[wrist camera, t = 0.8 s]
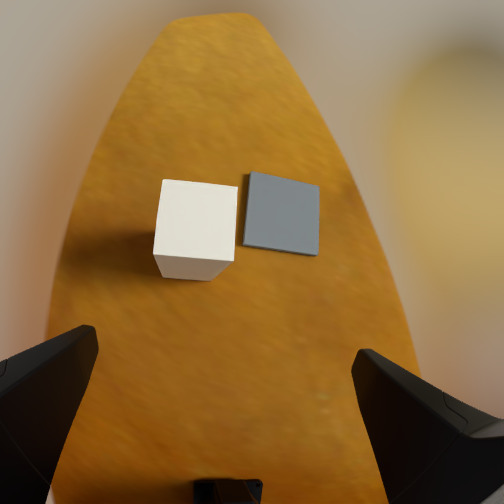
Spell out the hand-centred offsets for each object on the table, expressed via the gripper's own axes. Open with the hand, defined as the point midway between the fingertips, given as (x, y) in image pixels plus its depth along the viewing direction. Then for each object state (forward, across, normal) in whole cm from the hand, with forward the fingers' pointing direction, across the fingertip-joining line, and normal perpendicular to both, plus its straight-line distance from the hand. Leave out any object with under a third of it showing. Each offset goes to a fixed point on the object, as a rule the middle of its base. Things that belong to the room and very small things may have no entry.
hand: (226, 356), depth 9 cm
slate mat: (+19, -5, -2) cm, 20 cm away
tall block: (+16, +3, +2) cm, 16 cm away
